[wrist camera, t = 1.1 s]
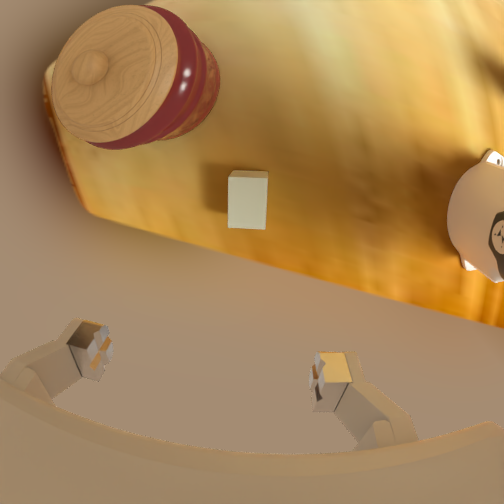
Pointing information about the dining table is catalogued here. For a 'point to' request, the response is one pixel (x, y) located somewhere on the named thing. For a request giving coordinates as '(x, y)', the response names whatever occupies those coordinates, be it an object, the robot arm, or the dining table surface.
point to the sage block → (247, 199)
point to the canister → (133, 78)
